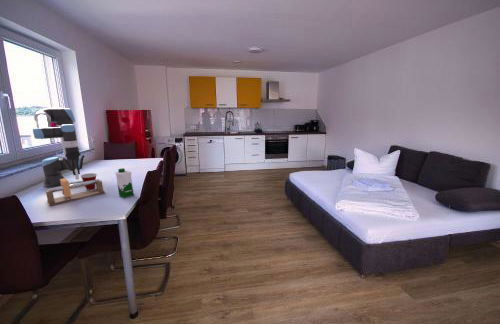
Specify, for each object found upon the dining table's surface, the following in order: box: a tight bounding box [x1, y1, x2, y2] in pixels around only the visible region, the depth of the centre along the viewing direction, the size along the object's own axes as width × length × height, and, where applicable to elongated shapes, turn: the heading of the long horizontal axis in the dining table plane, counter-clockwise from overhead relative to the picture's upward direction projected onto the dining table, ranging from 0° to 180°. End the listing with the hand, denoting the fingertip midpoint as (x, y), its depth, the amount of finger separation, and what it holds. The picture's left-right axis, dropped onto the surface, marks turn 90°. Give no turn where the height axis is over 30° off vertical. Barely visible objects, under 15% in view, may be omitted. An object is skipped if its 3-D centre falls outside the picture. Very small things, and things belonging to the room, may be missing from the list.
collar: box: [60, 177, 72, 197], centre depth 160 cm, size 11×3×11 cm, turn 48°
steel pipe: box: [48, 178, 100, 193], centre depth 164 cm, size 4×29×4 cm, turn 138°
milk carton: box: [115, 168, 135, 199], centre depth 166 cm, size 9×9×20 cm
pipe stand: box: [45, 179, 106, 207], centre depth 165 cm, size 12×32×9 cm, turn 138°
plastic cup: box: [80, 172, 98, 191], centre depth 183 cm, size 11×11×12 cm
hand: (77, 179), depth 164 cm, fingers closed
